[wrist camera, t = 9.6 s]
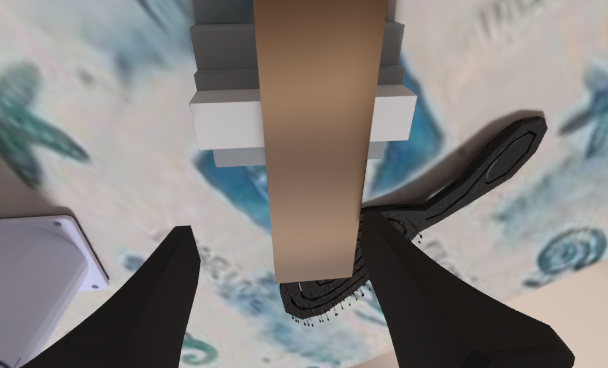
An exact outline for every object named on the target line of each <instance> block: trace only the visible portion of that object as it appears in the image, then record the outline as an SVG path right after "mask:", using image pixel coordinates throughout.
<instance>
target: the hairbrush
mask: <svg viewBox="0 0 608 368" xmlns="http://www.w3.org/2000/svg"><path fill="white" fill-rule="evenodd" d="M527 118H528V117H527ZM524 119H525V118H524ZM524 119H521V120H518V121H515V122H513V123H512V124H511V125H510V126H509V127H507V128H506V129H505V130H504V131H503V132H502V133H501V134H500V135H499V136H498V137H497V138H495V139H494V140H493V141H492V142H491V143H490V144H489V145H488V146H487V147H486V148H485V149H484V150H483V151H482V152H481V154H480V155H479V156H478V157H477V158H476V159H475V160H474V161H473V162H472V164H471V165H470V166H469V167H468V168H467V169H466V170H465V171H464V172H463V173H462V175H461V176H460V177H459V178H457V179H456V180H455V181H453V182H452V183H450V184H449V185H448V186H446V187H445V188H444V189H442V190H441V191H440V192H438V193H437V194H436V195H434V196H433V197H431V198H430V199H429V200H427V201H426V202H425V203H423V204H412V205H395V206H372V207H377V208H373V209H366V208H370V207H366V208H363V209H365V210H362V209H361V211H360V219H359V226H358V234H357V242H356V249H355V257H354V265H353V272H352V277H347V278H336V279H324V280H313V281H301V282H300V286H301V289H302V291H301V290H300V287H299V282H289V283H280V294H281V298H282V301H283V305H284V308H285V312H286V313H289V314H291V315H293V316H295V317H298V318H300V319H306V318H310V317H313V316H317V315H322V314H324V313H326V312H327V311H330V309H331V308H333V307H334V306H335V305H337V304H338V303H341V301H342V300H343V301H345V300H344V299H345V298H347V297H348V296H349V295H350V296H351V294H353V295H354V293H353V292H355V291H357V292H358V290H357V289H358V288H360V287H361V286H362V285H363V286H364V285H366V284H367V283H366V282H367V281H368V280H370V279H369V276H368V274H367V271H366V268H365V265H364V261H363V257H362V253H361V249H360V241H361V234H362V226H363V218H364V212H369V211H379V212H380V213H381V214H382V215H383V216H384V217H385V218H386V219H387V220H388V221H389V222H390V223H392V224H393V225H394V226H395V227H396V228H397V229H398V230H399V231H400V232H401V233H402V234H403V235H404V236H405V237H406V238H407V239H409V240H410V241H412V240H413V239H414V237H415V236H416V235H417V234H419V232H421V231H423V230H425V229H426V228H428V227H430V226H432V225H434V224H436V223H438V222H440V221H441V220H443V219H445V218H446V217H448V216H450V215H451V214H453V213H454V212H456V211H458V210H459V209H461V208H463V207H464V206H466V205H468V204H469V203H471V202H473V201H474V200H476V199H478V198H479V197H481V196H483V195H484V194H486V193H487V192H489V191H491V190H492V189H494V188H495V187H497V186H499V185H500V184H502V183H503V182H505V181H507V180H508V179H510V178H511V177H512V176H513V175H514V174H515V173H516V172H517V171H518V170H519V169H520V168H521V167H522V166H523V165H524V164H525V163H526V162H527V161H528V159H529V158H530V157H531V156H532V155H533V154H534V153H535V152H536V150H537V148H538V146H539V145H540V143H541V141H542V139H543V137H544V135H545V133H546V131H547V129H548V128H547V125H546V122H545V119H543V118H541V117H538V116H536V117H532V118H530V119H528V120H526V121H523V122H521V121H522V120H524ZM520 122H521V123H520ZM518 123H519V124H518ZM528 131H529V133H527V132H528ZM530 131H531V132H530ZM400 221H401V222H402V224H401V222H400ZM419 235H420V238H422V235H421V234H419ZM418 242H419V243H420V241H418ZM420 244H421V243H420ZM365 283H366V284H365ZM367 286H368V285H367ZM360 290H361V289H360ZM369 290H370V288H369ZM370 291H371V290H370ZM361 292H362V291H361ZM362 294H363V292H362ZM362 294H361V295H362ZM362 296H364V294H363V295H362ZM356 300H357V298H356ZM349 305H350V303H349ZM350 306H351V305H350ZM341 307H342V306H341ZM334 309H335V308H334ZM342 309H343V307H342ZM336 315H338V314H335V316H336ZM293 316H292V319H294V318H293ZM326 316H327V315H326ZM321 318H322V317H321ZM327 318H328V317H327ZM295 319H296V318H295ZM297 320H298V319H297ZM297 320H295V321H296V322H297ZM306 320H307V319H306ZM310 320H311V319H310ZM319 321H320V323H321V320H320V319H319ZM328 321H329V319H328ZM307 322H308V321H307ZM322 322H323V320H322ZM298 323H299V321H298ZM304 325H306V324H305V323H304ZM308 326H309V324H308ZM312 327H313V324H312Z"/></svg>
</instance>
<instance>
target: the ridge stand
mask: <svg viewBox="0 0 608 368" xmlns="http://www.w3.org/2000/svg"><path fill="white" fill-rule="evenodd" d="M404 26H405V25H404V24H401V23H397V22H385V28H384V36H383V43H382V51H381V59H380V66H379V74H378V82H377V89H376V97H375V104H374V112H373V120H372V127H371V135H370V143H369V150H368V158H367V159H382V158H383V155H384V149H385V143H386V141H396V140H408V138H409V133H410V128H411V123H412V118H413V114H414V109H415V104H416V99H417V95H416V94H414V93H413V92H412V91H410V90H409V89H408V88H406V87H405V86H404V85H403V84H402V83H403V77H404V72H405V69H404V68H402V67H401V66H399V65H398V63H399V57H400V51H401V45H402V39H403V33H404ZM190 32H191V38H192V43H193V48H194V53H195V59H196V64H197V69H198V70H197V72H196V73H195V74H194V78H195V83H196V88H197V92H196V93H195V95H194V97H193V98H192V100H191V101H190V103H189V106H190V111H191V115H192V120H193V124H194V129H195V134H196V138H197V143H198V147H199V150H209V149H213V153H214V159H215V164H216V167H232V166H250V165H266V157H265V145H264V133H263V121H262V109H261V97H260V84H259V72H258V60H257V48H256V36H255V24H195V25H194V26H192V27H191V28H190Z"/></svg>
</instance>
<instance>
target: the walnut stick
mask: <svg viewBox="0 0 608 368" xmlns="http://www.w3.org/2000/svg"><path fill="white" fill-rule="evenodd" d="M387 5H388V0H253V12H254V24H255V36H256V48H257V60H258V72H259V84H260V97H261V109H262V121H263V133H264V145H265V157H266V169H267V181H268V194H269V206H270V218H271V230H272V242H273V254H274V266H275V278H276V284H278V283H289V282H301V281H313V280H324V279H336V278H347V277H352V272H353V265H354V257H355V249H356V242H357V234H358V226H359V219H360V211H361V204H362V196H363V188H364V181H365V173H366V165H367V158H368V150H369V143H370V135H371V127H372V120H373V112H374V104H375V97H376V89H377V82H378V74H379V66H380V59H381V51H382V43H383V36H384V28H385V21H386V13H387Z"/></svg>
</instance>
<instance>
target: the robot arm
mask: <svg viewBox="0 0 608 368" xmlns="http://www.w3.org/2000/svg"><path fill="white" fill-rule="evenodd" d="M57 221H58V222H57ZM59 222H60V223H59ZM360 249H361V253H362V257H363V261H364V265H365V268H366V271H367V274H368V276H369V279H370V281H371V284H372V286H373V289H374V291H375V294H376V296H377V299H378V301H379V304H380V306H381V309H382V312H383V314H384V317H385V320H386V322H387V325H388V329H389V332H390V336H391V339H392V342H393V346H394V349H395V353H396V357H397V361H398V364H399V368H572V367H573V365H574V360H575V356H574V355H573V353H572V352H571V350H570V349H569V348H568V347H567V345H566V344H565V343H564V342H563V341H562V339H561V338H560V337H559V336H558V335H557V333H556V332H555V331H554V330H553V329H552V328H551V327H550V326H549V325H547V324H545V323H543V322H541V321H538V320H536V319H534V318H532V317H530V316H527V315H525V314H523V313H521V312H519V311H516V310H514V309H512V308H510V307H508V306H506V305H505V304H503V303H501V302H499V301H497V300H495V299H493V298H491V297H489V296H488V295H486V294H484V293H482V292H481V291H479V290H477V289H476V288H474V287H472V286H471V285H469V284H467V283H466V282H464V281H462V280H461V279H459V278H458V277H456V276H455V275H453V274H452V273H450V272H449V271H448V270H446V269H445V268H443V267H442V266H440V265H439V264H438V263H436V262H435V261H434V260H432V259H431V258H430V257H429V256H427V255H426V254H425V253H424V252H422V251H421V250H420V249H419V248H418V247H416V246H415V245H414V244H413V243H412V242H411V241H410V240H409V239H407V238H406V237H405V236H404V235H403V234H402V233H401V232H400V231H399V230H398V229H397V228H396V227H395V226H394V225H393V224H392V223H390V222H389V221H388V220H387V219H386V218H385V217H384V216H383V215H382V214H381V213H380V212H379V211H369V212H364V218H363V226H362V234H361V241H360ZM200 262H201V260H200V256H199V253H198V249H197V246H196V242H195V239H194V235H193V232H192V228H191V225H189V226H176V227H174V228H173V229H172V231H171V232H170V233H169V234H168V235H167V237H166V238H165V239H164V240H163V241H162V243H161V244H160V245H159V246H158V247H157V249H156V250H155V251H154V252H153V253H152V255H151V256H150V257H149V258H148V259H147V260H146V261H145V263H144V264H143V265H142V266H141V267H140V268H139V269H138V270H137V271H136V272H135V274H134V275H133V276H132V277H131V278H130V279H129V280H128V281H127V282H126V283H125V284H124V285H123V286H122V287H121V288H120V289H119V290H118V291H117V292H116V293H115V294H114V295H113V296H112V297H111V298H110V299H109V300H107V301H106V302H105V303H104V304H103V305H102V306H101V307H100V308H98V309H97V310H96V311H95V312H94V313H93V314H91V315H90V316H89V317H88V318H86V319H85V320H84V321H83V322H81V323H80V324H79V325H78V326H76V327H75V328H74V329H73V330H72V331H70V332H69V333H68V334H66V335H65V336H64V337H62V338H61V339H60V340H58V341H57V342H56V343H54V344H53V345H52V346H50V347H49V348H47V349H46V350H45V351H43V352H42V353H41V351H42V350H43V348H44V346H45V345H46V343H47V342H48V340H49V338H50V337H51V335H52V333H53V332H54V330H55V328H56V327H57V325H58V323H59V322H60V320H61V318H62V317H63V315H64V313H65V312H66V310H67V309H68V307H69V305H70V304H71V302H72V300H73V299H74V297H75V295H76V294H77V292H81V291H93V290H104V289H107V288H108V286H109V281H108V279H107V277H106V276H105V274H104V272H103V270H102V268H101V267H100V265H99V263H98V261H97V259H96V258H95V256H94V254H93V252H92V250H91V249H90V247H89V245H88V243H87V241H86V240H85V238H84V236H83V234H82V232H81V231H80V229H79V227H78V225H77V223H76V222H75V220H74V219H73V218H72V217H71V216H68V215H58V216H42V217H27V218H11V219H0V368H178V367H179V361H180V354H181V348H182V344H183V339H184V335H185V331H186V327H187V323H188V320H189V316H190V312H191V308H192V304H193V301H194V297H195V293H196V289H197V285H198V278H199V271H200Z"/></svg>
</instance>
